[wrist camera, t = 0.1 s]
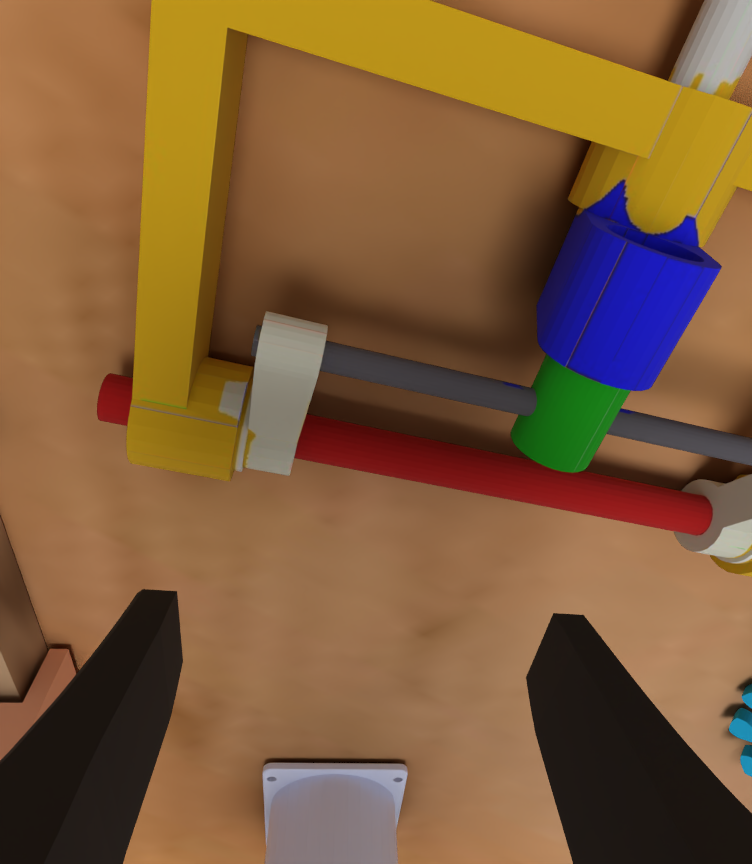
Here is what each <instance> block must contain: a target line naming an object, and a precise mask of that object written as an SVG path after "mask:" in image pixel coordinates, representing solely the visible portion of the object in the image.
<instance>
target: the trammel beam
mask: <svg viewBox="0 0 752 864" xmlns="http://www.w3.org/2000/svg"><path fill="white" fill-rule="evenodd" d="M47 654H48V650H47V647H46V644H45V641H44V638H43V636H42V633H41V630H40V627H39V624H38V621H37V619H36V616H35V613H34V610H33V607H32V605H31V602H30V599H29V596H28V593H27V590H26V588H25V585H24V582H23V579H22V576H21V573H20V571H19V568H18V565H17V562H16V559H15V557H14V554H13V551H12V548H11V545H10V542H9V540H8V537H7V534H6V531H5V528H4V525H3V523H2V520H1V517H0V703H23V701H24V699H25V697H26V695H27V693H28V691H29V689H30V687H31V685H32V683H33V681H34V679H35V677H36V675H37V673H38V671H39V669H40V667H41V665H42V663H43V661H44V659H45V657H46V656H47Z"/></svg>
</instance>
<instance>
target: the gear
mask: <svg viewBox="0 0 752 864" xmlns="http://www.w3.org/2000/svg"><path fill="white" fill-rule="evenodd" d="M742 699H743V701H744V702H745V704H746V705H747V706H749V707H750V708H752V684H750V685H748V686H747V687H745V690H744V692H743V694H742ZM729 731H730V732H731V733H732V734H733V735H734V736H736V737H738V738H740V739H743V740H747V741H749V742H752V713H751V712H750V711H748V710H746V709H744V708H740V709H738V710H737V711H736V713H735V715H734V717H733V720H732V722H731V724H730V727H729ZM740 760H741V765H742V768H743V770H744V772H745V773H746V774H747V775H749V776H751V777H752V745H745V747H744V749H743V752H742V754H741V758H740Z"/></svg>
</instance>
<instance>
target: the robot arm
mask: <svg viewBox="0 0 752 864" xmlns="http://www.w3.org/2000/svg"><path fill="white" fill-rule="evenodd" d="M182 663H183V657H182V645H181V634H180V622H179V610H178V598H177V591H162V590H145V589H143V590H141V591H140V592H138V593H137V594H136V596H135V597H134V599H133V600H132V602H131V603H130V605H129V606H128V607H127V609H126V610H125V612H124V613H123V614H122V616H121V617H120V619H119V620H118V621H117V623H116V624H115V625H114V627H113V628H112V630H111V631H110V632H109V634H108V635H107V636H106V637H105V639H104V640H103V641H102V643H101V644H100V645H99V647H98V648H97V649H96V650H95V652H94V653H93V654H92V656H91V657H90V658H89V659H88V661H87V662H86V663H85V664H84V665H83V667H82V668H81V669H80V670H79V672H78V673H77V674H76V675H75V676H74V678H73V679H72V680H71V681H70V683H69V684H68V685H67V686H66V687H65V689H64V690H63V691H62V692H61V694H60V695H59V696H58V697H57V698H56V699H55V701H54V702H53V703H52V704H51V705H50V706H49V708H48V709H47V710H46V711H45V712H44V713H43V714H42V715H41V716H40V718H39V719H38V720H37V721H36V722H35V723H34V724H33V725H32V726H31V728H30V729H29V730H28V731H27V732H26V733H25V734H24V735H23V737H22V738H21V739H20V740H19V741H18V742H17V743H16V744H15V745H14V747H13V748H12V749H11V750H10V751H9V752H8V753H7V754H6V755H5V756H4V757H3V758H2V759H1V760H0V864H123V861H124V858H125V854H126V851H127V848H128V845H129V842H130V839H131V836H132V833H133V830H134V827H135V824H136V821H137V818H138V815H139V812H140V809H141V806H142V803H143V800H144V797H145V794H146V791H147V788H148V785H149V782H150V779H151V776H152V773H153V770H154V767H155V764H156V761H157V757H158V754H159V751H160V748H161V745H162V742H163V739H164V736H165V733H166V730H167V727H168V724H169V721H170V717H171V713H172V709H173V704H174V700H175V696H176V691H177V686H178V682H179V677H180V672H181V668H182ZM526 680H527V686H528V693H529V699H530V706H531V711H532V717H533V722H534V728H535V733H536V736H537V740H538V744H539V747H540V751H541V754H542V758H543V761H544V765H545V768H546V772H547V775H548V779H549V782H550V785H551V789H552V792H553V796H554V799H555V803H556V806H557V809H558V813H559V816H560V820H561V823H562V826H563V830H564V833H565V837H566V840H567V844H568V847H569V850H570V854H571V857H572V861H573V864H752V813H751V812H750V811H749V810H748V809H747V808H746V807H745V806H744V805H743V804H742V803H741V802H740V801H739V800H738V799H737V798H736V797H735V796H734V795H733V794H732V793H731V792H730V791H729V790H728V789H727V788H726V787H725V786H724V785H723V783H722V782H721V781H720V780H719V779H718V778H717V777H716V776H715V775H714V774H713V772H712V771H711V770H710V769H709V768H708V767H707V766H706V765H705V764H704V762H703V761H702V760H701V759H700V758H699V757H698V756H697V755H696V754H695V752H694V751H693V750H692V749H691V748H690V747H689V746H688V745H687V743H686V742H685V741H684V740H683V739H682V738H681V736H680V735H679V734H678V733H677V732H676V731H675V729H674V728H673V727H672V726H671V725H670V723H669V722H668V721H667V720H666V718H665V717H664V716H663V715H662V714H661V712H660V711H659V710H658V709H657V708H656V706H655V705H654V704H653V703H652V702H651V700H650V699H649V698H648V697H647V695H646V694H645V693H644V692H643V690H642V689H641V688H640V687H639V685H638V684H637V683H636V682H635V680H634V679H633V678H632V677H631V675H630V674H629V673H628V671H627V670H626V669H625V668H624V666H623V665H622V664H621V663H620V661H619V660H618V659H617V657H616V656H615V655H614V654H613V652H612V651H611V650H610V648H609V647H608V646H607V645H606V643H605V642H604V641H603V639H602V638H601V637H600V636H599V634H598V633H597V632H596V630H595V629H594V628H593V627H592V625H591V624H590V623H589V621H588V620H587V619H586V618H585V616H584V615H574V614H557V613H553V616H552V618H551V620H550V623H549V625H548V627H547V630H546V632H545V634H544V637H543V639H542V641H541V644H540V646H539V648H538V651H537V653H536V655H535V658H534V660H533V663H532V665H531V667H530V670H529V672H528V674H527V677H526ZM407 775H408V772H407V767H406V766H405V765H404V764H388V763H268V764H266V765H264V767H263V793H264V813H265V832H266V845H267V847H266V856H265V864H398V855H397V837H396V828H397V823H398V819H399V814H400V809H401V804H402V799H403V795H404V790H405V785H406V780H407Z"/></svg>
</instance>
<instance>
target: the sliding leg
mask: <svg viewBox="0 0 752 864" xmlns="http://www.w3.org/2000/svg"><path fill="white" fill-rule="evenodd" d="M75 675H76V671H75V668H74V665H73V662H72V659H71V656H70V653H69V649H50V650H49V652H48V654H47V656H46V657H45V659H44V661H43V663H42V665H41V667H40V669H39V671H38V673H37V675H36V677H35V679H34V681H33V683H32V685H31V687H30V689H29V691H28V693H27V695H26V697H25V699H24V701H23V703H0V760H1V759H2V758H3V757H4V756H5V755H6V754H7V753H8V752H9V751H10V750H11V749H12V748H13V747H14V745H15V744H16V743H17V742H18V741H19V740H20V739H21V738H22V737H23V735H24V734H25V733H26V732H27V731H28V730H29V729H30V728H31V726H32V725H33V724H34V723H35V722H36V721H37V720H38V719H39V718H40V716H41V715H42V714H43V713H44V712H45V711H46V710H47V709H48V708H49V706H50V705H51V704H52V703H53V702H54V701H55V699H56V698H57V697H58V696H59V695H60V694H61V692H62V691H63V690H64V689H65V687H66V686H67V685H68V684H69V683H70V681H71V680H72V679H73V678H74V676H75Z"/></svg>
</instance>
